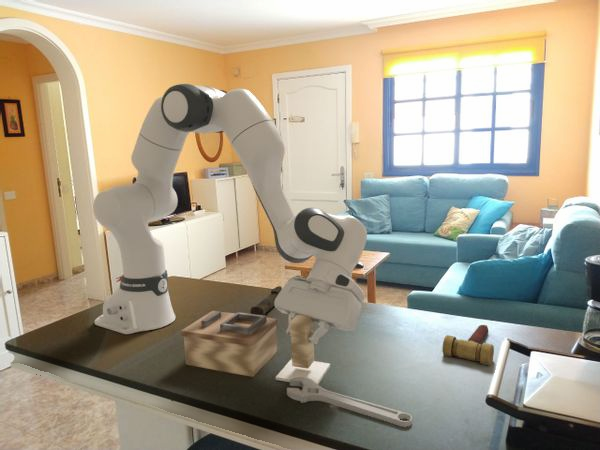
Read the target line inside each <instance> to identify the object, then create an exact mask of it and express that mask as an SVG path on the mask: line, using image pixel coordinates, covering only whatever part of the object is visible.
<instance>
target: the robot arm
mask: <svg viewBox="0 0 600 450" xmlns="http://www.w3.org/2000/svg"><path fill="white" fill-rule="evenodd" d="M190 133H195V134H202V135H203V134H204V135H205V134H212V133H213V134H214V133H218V134H220V133H221V134H222V133H224V134H225V136H226V137H227V140H228V141H229V143H230V145H231V147H232V148H233V150H234V152H235V154H236V155H237V157H238V158H239V160H240V163H241V164H242V166H243V169H244V170H245V172H246V174H247V176H248V179H249V181H250V182H251V184H252V187H253V190H254V192H255V194H256V196H257V198H258V201H259V202H260V204H261V207H262V208H263V211H264V212H265V215H266V217H267V219H268V221H269V223H270V226H271V227H272V231H273V234H274V235H273V236H274V243H275V247H276V248H275V249H276V250H277V253H278V254H279V255H280V256H281V257H282V258H283V259H284V260H285V261H287V262H290V263H294V264H302V263H305V262H307V261H308V260H309V259H311V258H312V257H314V258H315V261H314V263H313V265H312V267H311V269H310V271H309V273H308V276H307V277H305V276H301V275H295V276H292V277H290V278H288V280H287V282H285V284H284V285H283V287H282V290H281V291H280V293H279V294H278V296H277V297H276V299H275V301H274V304H275V305H274V307H275V308H276V309H277V310H278V312H280V313H282V314H285V315H288V318H287V319H288V320H287V321H288V322H287V323H288V326H287V329H286V330H285V333H286V335H287V336H290V337H291V323H290V321H291V320H292V319H293V318H294V317H295V316H296V315H303V316H308V317H312V318H313V323H315V324H317V325H318V327H317V329H315V330H313V332H310V334H309V336H308V338H307V340H308V341H309V342H311V343H313V344H314V345H317V344H318V342H319V339H320V338H321V337H322V336H324V335H325V334H326V333H327V332H328V331H329V330H330V328H334V329H337V330H341V331H344V332H346V333H350V332H351V331H353V330H355V328H356V327H357V324H358V322H359V319H360V316H361V313H362V308H363V307H362V305H363V304H362V302H363V301H364V300H365V298H366V294H365V293H364V291H363V289H362V288H361V286H360V285H358V283H357V282H356V281H355V280H354V279H352V278H353V277H352V276H353V270H354V269H355V267H356V266H357V265H358V263H359V261H360V260H361V257H362V255H363V251H364V249H365V247H366V244H367V238H368V234H367V229H366V226H365V225H364V223H362V221H360V220H359V219H358V218H357V217H355V216H352V215H350V214H342V215H337V214H331V213H328V212H326V211H324V210H322V209H320V208H317V207H307V208H304V209H302V210H301V211H299V212H298V213H297V214H295V212H294V210H293V208H292V206H291V204H290V202H289V200H288V198H287V195H286V194H285V192H284V189H283V186H282V181H281V175H282V167H283V161H284V157H285V153H286V151H285V150H286V149H285V144H284V140H283V138H282V136H281V133H280V131H279V129H278V127H277V126H276V124H275V122H274V120H273V119H272V117H271V116H270V114H269V112H268V111H267V110H266V109H265V107H264V105H263V104H262V103H261V102H260V101H259V99H258V98H257V97H256V96H255V95H254V94H253V93H252V91H249V90H248V89H246V88H234V89H231V90H229V91H226V90H223V89H217V88H215V87H212V86H207V85H198V84H197V85H194V84H190V83H179V84H178V83H177V84H175V85H172V86H170V87H168V89H167V90H165V92H164V94H163V95H162V96H160V97H158V98H157V99H154V102H153V103H152V104H151V106H150V108H149V109H148V111H147V113H146V116H145V118H144V120H143V122H142V124H141V128H140V130H139V133H138V136H137V139H136V142H135V144H134V147H133V150H132V154H131V156H130V157H131V163H132V165H133V167H134V168H135V169H136V171H137V178H136V180H135V182H134V183H131V184H124V185H122V184H121V185H116V186H113V187H112V186H111V187H110V188H107V189H105V190H103V191H100V192H99V193H98V194H96V196H95V198H94V200H93V204H92V211H93V212H92V213H93V215H94V217H95V219H96V220H97V222H98V223H99V225H101V227H104V228H105V229H107V230H108V231H110V233H111V234H112V236H113V237H114V239H115V240H116V243H117V244H118V245H117V246H118V248H119V251H120V257H121V263H122V264H121V265H122V271H123V272H122V273H123V274H122V275H120V276H119V277H116V278H115V280H116V281H115V282H116V283H118V282H119V288H118V289H117V290H115V291H114V292H113V293H112V294H111V295H110V296H108V298H106V299H105V300H104V302H103V305H102V314H101V315H99V316H98V317H96V318H95V320H94V325H96V326H98V327H101V328H104V329H108V330H111V331H114V332H117V333H120V334H123V335H130V334H134V333H139V332H147V331H150V330H157V329H161V328H163V327H166V326H168V325H169V324H172V323H174V321H175V320H176V318H177V317H176V314H175V312H174V309H173V306H172V302H171V296H170V294H169V289H168V288H169V277H168V276H169V275H168V271H167V270H166V263H165V262H166V261H165V250H164V249H165V248H164V244H163V242H161V240H159V239H157V238H156V237H154V236H153V235H152V232H151V230H150V228H149V223H151V222H156V221H160V220H162V219H165V218H167V217H168V216H170V215H172V214H173V213H174V212H175V210H176V209H177V207H178V202H179V200H178V195H177V192H176V191H175V189H174V187H173V181H174V173H175V170H176V168H177V165H178V162H179V159H180V156H181V153H182V151H183V148H184V145H185V143H186V139H187V137H188V135H189V134H190Z"/></svg>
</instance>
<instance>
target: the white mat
mask: <svg viewBox="0 0 600 450" xmlns="http://www.w3.org/2000/svg"><path fill="white" fill-rule="evenodd" d="M330 368H331V363H329V362H322V361H316V360H314V362H313V363H312V364H311V366H310V367H309V368H308V369H307V368H301V367H295V366H292V358H290V360H289V361H288V362H287V363H286V364H285V366H284V367H283V368H282V369H281V370H280V371H279V373H278V374H276V376H275V380H276V381H280V382H281V381H282V382H287V383H290V379H292V378H296V377H306V378H309V379H311V380H313V381H314V382H315V383H317V384H318V385H320V383H321V381H322V379H323V378H324V377H325V375H326V374H327V372H328V371H329V369H330Z"/></svg>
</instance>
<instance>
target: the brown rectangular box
mask: <svg viewBox="0 0 600 450" xmlns="http://www.w3.org/2000/svg"><path fill="white" fill-rule="evenodd" d="M277 325H278V318H275V317H274V318H273V317H267V315H264V316H263V315H255V314H251V313H246V312H239V311H237V312H236V313H233V312H227V311H225V312H224V311H217V310H211V311H210V312H208V313H207V314H204V316H202V317H200V318H199V319H197V320H196V321H194V322H192V323H191V324H190V325H188V326H186V327H185V328H182V329H181V330H180V331H181V332H180V333H181V336H182V337H183V342H184V343H183V344H184V355H185V356H184V357H185V365H187V366H192V367H197V368H203V369H208V370H214V371H218V372H225V373H230V374H235V375H241V376H245V377H246V376H247V377H255V375H257V374H258V373H259V372H260V370H262V369H263V367H264V366H265V365H266V364H267V363H268V362H269V361H270V360H271V359H272V358H273V357H274V356H275V355H276V354H277V353H278V343H277Z"/></svg>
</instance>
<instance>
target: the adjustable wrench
mask: <svg viewBox="0 0 600 450" xmlns="http://www.w3.org/2000/svg"><path fill="white" fill-rule="evenodd" d="M289 386H291V387H287V388H286V395H287V396H288V397H289V398H290V399H292V400H294V401H298V402H300V403H301V404H303V403H307V402H314V401H316V402H324V403H326V404H329V405H333V406H337V407H339V408H343V409H346V410H348V411H352V412H355V413H359V414H361V415H365V416H367V415H368V416H367V417H370V416H371V418H374V417H375V418H374V419H377V418H378V419H377V420H380V419H381V421H383V420H384V421H383V422H386V421H387V422H386V423H389V422H390V424H392V423H393V425H396V426H399V427H402V428H403V427H404V428H409V427H411V426H412V425H411V424H413V417H412V415H411V414H409V413H407V412H404V411H400V410H397V409H393V408H390V407H386V406H384V405H383V406H382V405H379V404H377V403H373V402H369V401H366V400H363V399H359V398H354V397H352V396H349V395H344V394H342V393H338V392H334V391H331V390H328V389H326V388H324V387H323V386H321V385H320V384H317V383H315V382H314V381H313V380H311V379H309V378H306V377H296V378H292V379H290V382H289ZM297 387H301V388H302V389H300V388H297ZM400 419H401V420H400ZM406 419H407V420H406ZM408 420H409V421H408ZM410 425H411V426H410ZM407 426H408V427H407Z"/></svg>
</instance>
